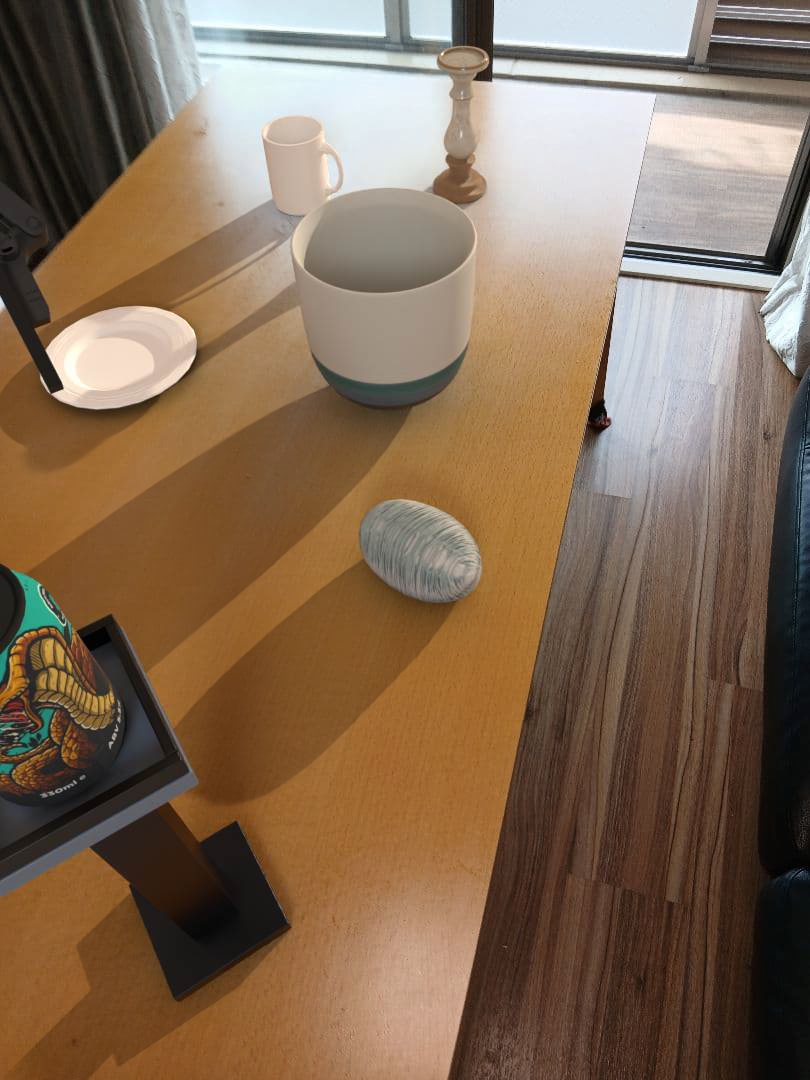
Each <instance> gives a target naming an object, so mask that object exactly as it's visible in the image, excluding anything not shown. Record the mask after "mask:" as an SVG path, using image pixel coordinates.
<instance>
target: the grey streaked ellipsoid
mask: <svg viewBox="0 0 810 1080" xmlns="http://www.w3.org/2000/svg"><path fill="white" fill-rule="evenodd" d="M358 544H359V550H360V551H361V555H362V556H363V559H364V561H365V563H366V564H367V566H368V567H369V568H370V569H371V570H372V572H374V574H375V575H377V577H379V578H380V579H381V581H383V582H384V583H386V584H387V585H388V586H389V587H391V588H392V589H394V590H396V592H399V593H401V594H402V595H404V596H407V597H409V598H413V599H416V600H419V601H421V602H426V603H435V604H444V603H445V604H446V603H452V602H455V601H458V600H461V599H463V598H465V597H467V596H469V595H470V594H471V593H472V592H473V591H474V590H475V589H476V587H477V586H478V584H479V582H480V579H481V577H482V573H483V572H482V571H483V561H482V556H481V553H480V550H479V547H478V544H477V542H476V540H475V539H474V537H473V536H472V534H471V533H470V532H469V531H468V529H467V528H466V527H465V526H464V525H463V524H462V523H461V522H459V520H457V519H456V518H455V517H453V516H452V515H451V514H449V513H447V512H445V511H444V510H442V509H439V508H438V507H435V506H433V505H429V504H426V503H423V502H420V501H416V500H411V499H403V498H398V499H390V500H385V501H382V502H379V503H377V504H375V505H374V506H373V507H372V508H371V509H369V510H368V511H367V512H366V513H365V515H364V516H363V518H362V520H361V522H360V524H359V530H358Z"/></svg>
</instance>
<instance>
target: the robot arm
mask: <svg viewBox="0 0 810 1080" xmlns="http://www.w3.org/2000/svg"><path fill="white" fill-rule="evenodd" d="M0 223H2V225H4V226H5V227H6V228H8V229H9V230H7V232H5V233H4V232H2V231H0V299H1V301H2V303H3V305H4V307H5V309H6V310H7V312H8V315H9V317H10V318H11V320H12V322H13V324H14V326H15V328H16V330H17V333H18V334H19V336H20V338H21V339H22V341H23V344H24V345H25V347H26V349H27V351H28V353H29V355H30V357H31V359H32V360H33V363H34V365H35V366H36V368H37V371H38V372H39V375H40V374H41V376H42V378H43V380H44V382H45V384H46V386H47V388H48V390H49V392H50V394H49V395H51V394H53V393H55V392H58V391H60V390H63V389H64V387H63V384H62V381H61V379H60V378H59V376H58V374H57V372H56V370H55V368H54V366H53V364H52V362H51V360H50V358H49V356H48V354H47V352H46V348H45V346H44V344H43V342H42V341H41V339H40V336H39V334H38V333H37V331H36V329H37V328H40V327H43V326H45V325H48V324H51V323H52V320H51V319H52V318H51V311H50V307H49V305H48V303H47V301H46V299H45V297H44V295H43V293H42V291H41V289H40V287H39V285H38V282H37V281H36V279H35V277H34V275H33V273H32V271H31V269H30V267H29V265H28V263H29V260H30V258H31V256H32V255H33V254H34V253H36V252H37V251H38V250H39V249H44V248H45V247H46V246H47V245H48V243H49V239H50V236H49V232H48V225H47V222H46V219H45V217H44V216H43V215H42V214H41V213H40V212H39V211H38V210H36V209H35V208H34V207H32V205H30V204H29V203H28V202H26V200H24V199H23V198H22V197H21V196H19V195H18V194H17V193H16V192H15V191H14V190H12V189H11V188H10V187H9V186H8V185H6V184H5V183H4V182H3V181H1V180H0Z"/></svg>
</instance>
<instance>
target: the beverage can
mask: <svg viewBox="0 0 810 1080" xmlns="http://www.w3.org/2000/svg"><path fill="white" fill-rule="evenodd" d="M76 631H77V630H75V628H74V627H73V625H72V623H71V622H70V621H69V619H68V618H67V617H66V615H65V614H64V612H63V611H62V609H61V608H60V606H59V605H58V604H57V602H56V600H55V599H54V598H53V596H52V595H51V593H50V592H49V591H48V590H47V589H46V588H45V587H44V586H43V584H41V583H40V582H39V581H38V580H36V579H34V578H33V577H30V576H29V575H27V574H25V573H23V572H19V571H16V570H13V569H10V567H8V566H6V565H5V564H3V563H1V562H0V796H1V797H2V798H4V799H5V800H7V801H9V802H12V803H14V804H17V805H21V806H29V807H40V806H50V805H54V804H57V803H61V802H64V801H67V800H69V799H71V798H73V797H75V796H77V795H79V794H81V793H83V792H84V791H86V790H87V789H88V788H90V787H91V786H93V785H94V784H95V783H96V782H97V781H98V780H99V779H100V778H101V777H102V776H103V775H104V774H105V773H106V772H107V771H108V770H109V768H110V767H111V766H112V764H113V763H114V761H115V760H116V758H117V756H118V754H119V752H120V750H121V748H122V746H123V743H124V738H125V734H126V730H127V715H126V710H125V706H124V703H123V701H122V699H121V697H120V695H119V693H118V692H117V690H116V689H115V687H114V686H113V684H112V683H111V682H110V680H109V679H108V677H107V676H106V674H105V673H104V671H103V670H102V669H101V667H100V666H99V664H98V663H97V661H96V660H95V658H94V657H93V656H92V654H91V653H90V651H89V650H88V648H87V647H86V645H85V644H84V643H83V641H82V640H81V638H80V637H79V635H78V634H77V632H76Z"/></svg>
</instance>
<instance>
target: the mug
mask: <svg viewBox="0 0 810 1080" xmlns="http://www.w3.org/2000/svg"><path fill="white" fill-rule="evenodd" d="M324 129H325V128H324V125H323V123H322V122H321V121H320V120H318V119H317V118H315V117H313V116H310V115H304V114H302V115H301V114H290V115H284V116H279V117H277V118H274V119H272V120H270V121H269V122H267V123H266V124H265V125H264V126H263V127H262V129H261V138H262V144H263V151H264V155H265V162H266V167H267V173H268V180H269V185H270V191H271V198H272V201H273V204H274V206H275V208H276V209H278V211H280V212H281V213H283V214H286V215H289V216H292V217H304V216H305V215H306V214H307V213H309V212H310V211H311V210H313V209H314V208H315V207H317V206H319V205H320V204H322V203H324V202H326V201H328V200H330V199H332V198H331V195H334V194H336V193H338V192H339V191H340V190H341V189H342V187H343V184H344V183H343V182H344V168H343V165H342V162H341V158H340V156H339V154H338V152H337V151H336V150H335V148H334V147H333V146H331V144H329V143H328V142H326V140H325V131H324ZM327 155H330V156H332V158H333V159H334V160H335V162H336V166H337V170H338V179H337V183H336V184H335V185H334V186H332V185H331V184H330V175H329V167H328V165H329V164H328V158H327V157H328V156H327Z"/></svg>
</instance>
